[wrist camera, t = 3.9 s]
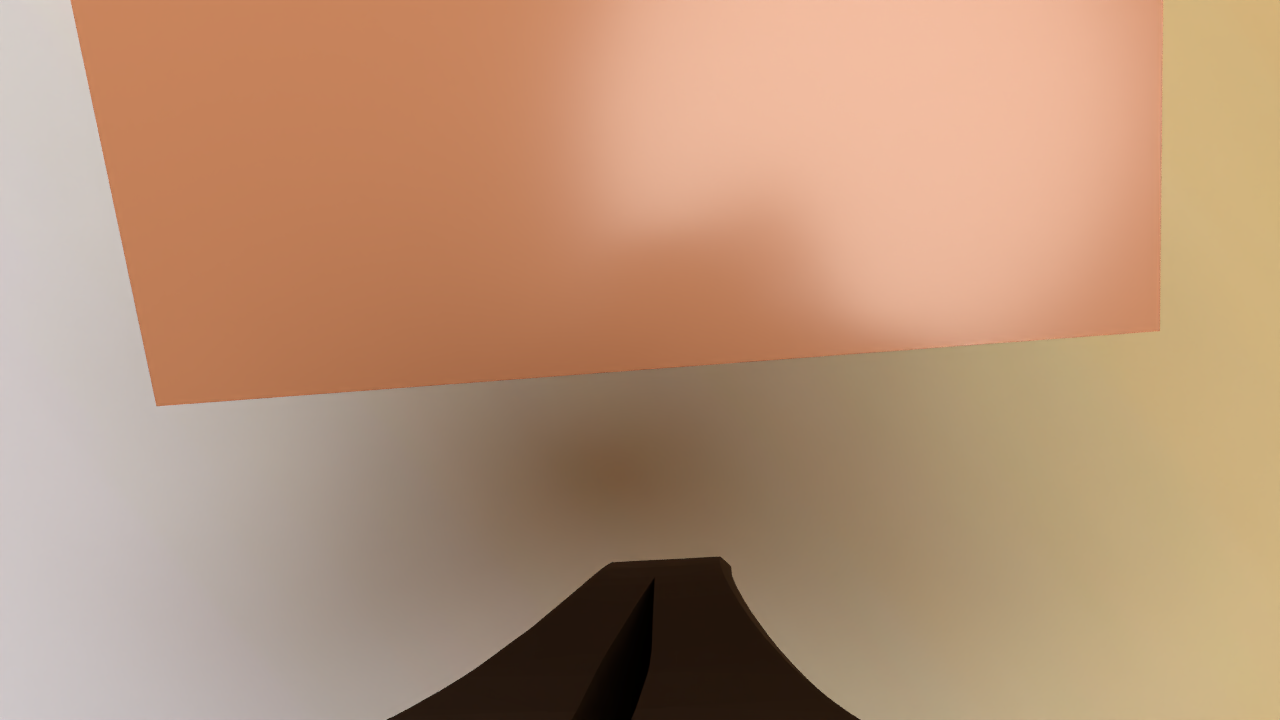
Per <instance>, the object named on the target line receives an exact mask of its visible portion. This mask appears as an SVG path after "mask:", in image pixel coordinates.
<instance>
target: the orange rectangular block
mask: <svg viewBox="0 0 1280 720" xmlns="http://www.w3.org/2000/svg"><path fill="white" fill-rule="evenodd" d="M71 4H72V9H73V14H74V18H75V23H76V28H77V32H78V37H79V42H80V47H81V51H82V56H83V61H84V66H85V70H86V75H87V80H88V84H89V89H90V94H91V99H92V103H93V108H94V113H95V117H96V122H97V127H98V132H99V136H100V141H101V146H102V151H103V155H104V160H105V165H106V169H107V174H108V179H109V184H110V188H111V193H112V198H113V203H114V207H115V212H116V217H117V221H118V226H119V231H120V236H121V240H122V245H123V250H124V254H125V259H126V264H127V269H128V273H129V278H130V283H131V287H132V292H133V297H134V302H135V306H136V311H137V316H138V321H139V325H140V330H141V335H142V339H143V344H144V349H145V354H146V358H147V363H148V368H149V372H150V377H151V382H152V387H153V391H154V396H155V401H156V406H165V405H179V404H192V403H205V402H219V401H232V400H245V399H259V398H272V397H285V396H299V395H312V394H325V393H339V392H352V391H365V390H379V389H392V388H405V387H419V386H432V385H445V384H459V383H472V382H485V381H499V380H512V379H525V378H538V377H552V376H565V375H578V374H592V373H605V372H618V371H632V370H645V369H658V368H672V367H685V366H698V365H712V364H725V363H738V362H752V361H765V360H778V359H792V358H805V357H818V356H832V355H845V354H858V353H872V352H885V351H898V350H912V349H925V348H938V347H952V346H965V345H978V344H992V343H1005V342H1018V341H1031V340H1045V339H1058V338H1071V337H1085V336H1098V335H1111V334H1125V333H1138V332H1151V331H1160V250H1161V152H1162V54H1163V0H71Z"/></svg>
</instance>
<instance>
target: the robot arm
mask: <svg viewBox="0 0 1280 720" xmlns="http://www.w3.org/2000/svg"><path fill="white" fill-rule="evenodd" d="M387 720H860V719H858V718H857V717H855V716H854V715H852V714H850V713H849V712H847V711H846V710H845V709H843V708H842V707H840V706H839V705H838V704H836V703H835V702H833V701H832V700H831V699H829V698H828V697H827V696H826V695H824V694H823V693H822V692H821V691H820V690H819V689H817V688H816V687H815V686H814V685H813V684H812V683H811V682H810V681H809V680H808V679H807V678H806V677H805V676H804V675H803V674H802V673H801V672H800V671H799V670H798V669H797V668H796V667H795V666H794V665H793V664H792V663H791V662H790V660H789V659H788V658H787V657H786V656H785V655H784V654H783V653H782V652H781V650H780V649H779V648H778V647H777V646H776V645H775V643H774V642H773V641H772V640H771V638H770V637H769V636H768V635H767V633H766V632H765V630H764V629H763V628H762V626H761V625H760V623H759V622H758V621H757V619H756V618H755V616H754V615H753V614H752V612H751V611H750V609H749V608H748V606H747V604H746V603H745V601H744V600H743V598H742V596H741V594H740V592H739V590H738V589H737V586H736V584H735V582H734V580H733V577H732V571H731V566H730V565H729V564H728V563H727V562H726V561H725V560H723V559H722V558H721V557H704V558H686V559H667V560H648V561H630V562H611V563H610V564H608V565H607V566H605V567H604V568H602V569H601V570H600V571H599V572H597V573H596V574H595V575H594V576H592V577H591V578H590V579H589V580H588V581H587V582H585V583H584V584H583V585H582V586H581V587H580V588H578V589H577V590H576V591H575V592H574V593H573V594H571V595H570V596H569V597H568V598H567V599H565V600H564V601H563V602H562V603H561V604H559V605H558V606H557V607H556V608H555V609H553V610H552V611H551V612H550V613H549V614H547V615H546V616H545V617H544V618H543V619H541V620H540V621H539V622H538V623H537V624H535V625H534V626H533V627H532V628H530V629H529V630H528V631H526V632H525V633H524V634H522V635H521V636H520V637H518V638H517V639H515V640H514V641H513V642H511V643H510V644H509V645H507V646H506V647H505V648H503V649H502V650H500V651H499V652H498V653H496V654H495V655H494V656H492V657H491V658H490V659H488V660H487V661H485V662H484V663H483V664H481V665H480V666H479V667H477V668H476V669H474V670H473V671H471V672H470V673H468V674H467V675H465V676H464V677H462V678H460V679H459V680H457V681H456V682H454V683H452V684H451V685H449V686H447V687H446V688H444V689H442V690H441V691H439V692H437V693H435V694H434V695H432V696H430V697H428V698H427V699H425V700H423V701H421V702H420V703H418V704H416V705H414V706H412V707H411V708H409V709H407V710H405V711H403V712H401V713H399V714H397V715H395V716H394V717H391V718H389V719H387Z"/></svg>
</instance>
